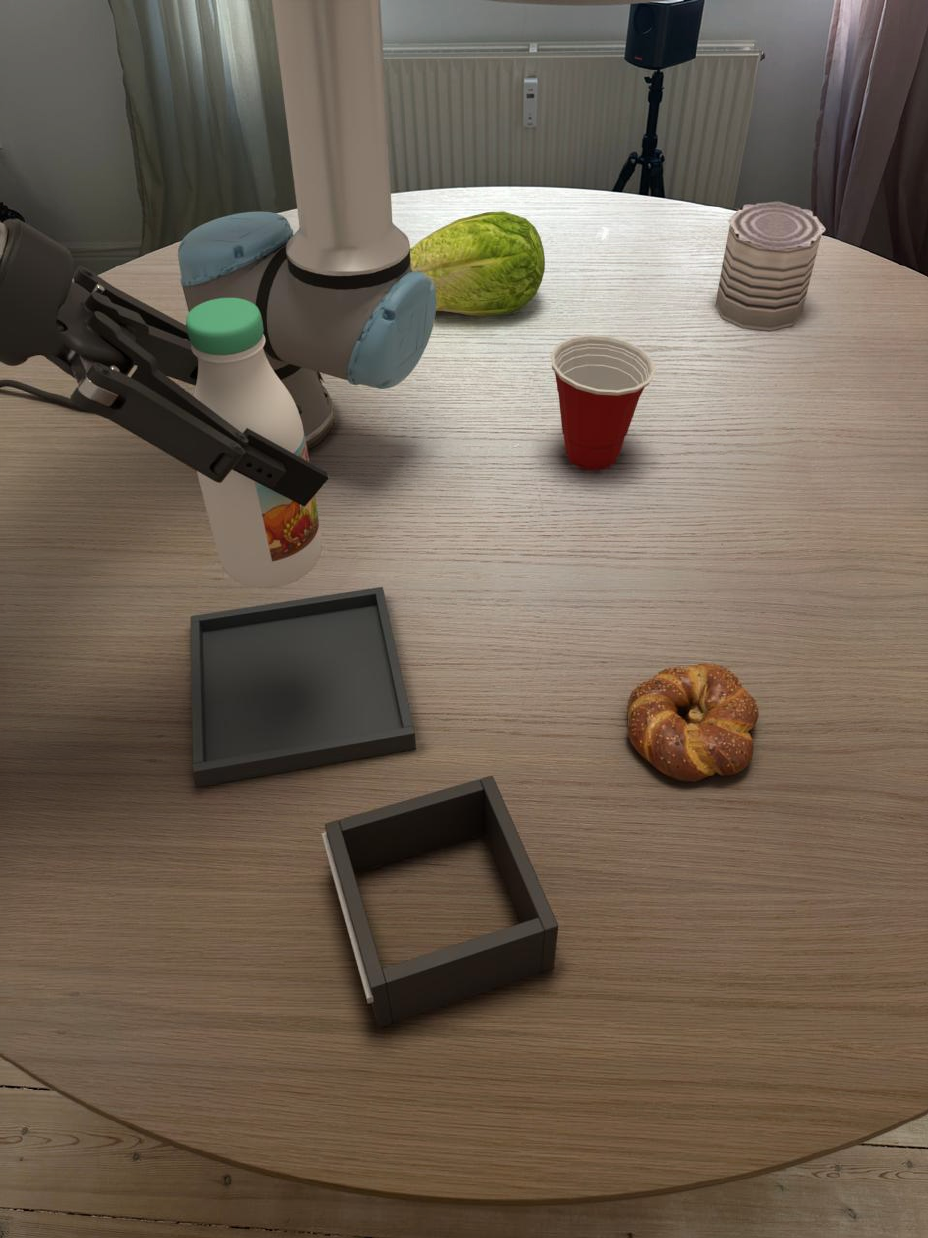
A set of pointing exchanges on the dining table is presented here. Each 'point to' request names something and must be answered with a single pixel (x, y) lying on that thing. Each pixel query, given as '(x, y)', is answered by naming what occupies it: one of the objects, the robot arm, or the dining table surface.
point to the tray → (296, 686)
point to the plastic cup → (598, 395)
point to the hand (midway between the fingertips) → (302, 454)
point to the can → (767, 265)
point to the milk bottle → (257, 399)
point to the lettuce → (482, 264)
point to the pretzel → (693, 722)
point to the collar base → (462, 964)
